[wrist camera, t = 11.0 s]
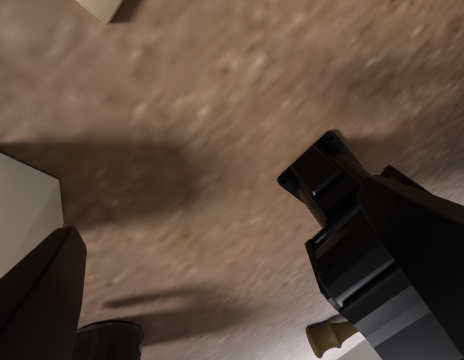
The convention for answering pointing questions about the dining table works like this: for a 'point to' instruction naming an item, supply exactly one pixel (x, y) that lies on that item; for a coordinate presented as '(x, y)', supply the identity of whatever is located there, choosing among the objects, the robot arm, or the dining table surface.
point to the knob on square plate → (102, 8)
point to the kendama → (329, 336)
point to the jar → (25, 210)
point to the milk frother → (108, 342)
